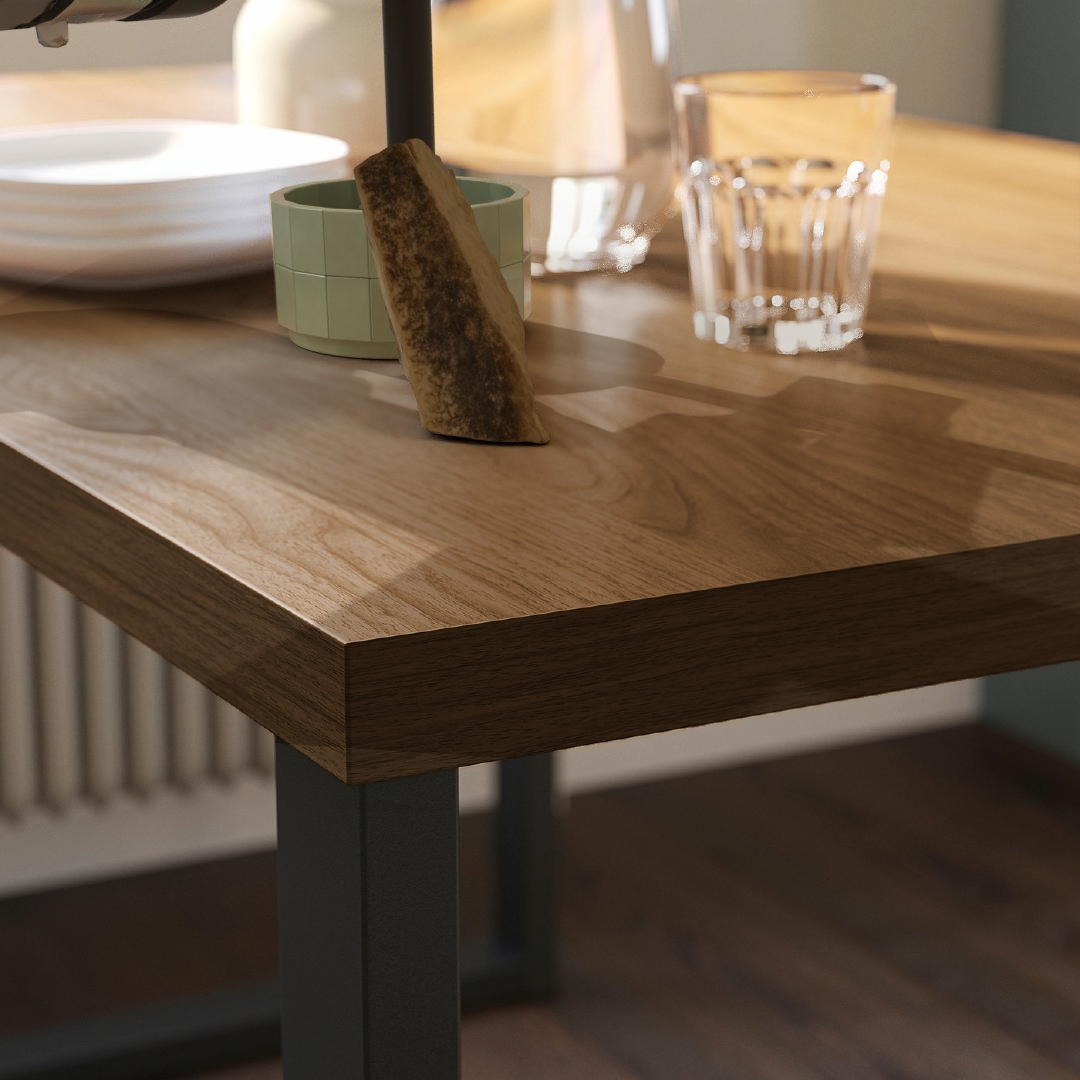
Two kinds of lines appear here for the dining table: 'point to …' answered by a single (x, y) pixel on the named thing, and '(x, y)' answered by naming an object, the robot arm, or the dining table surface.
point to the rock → (446, 300)
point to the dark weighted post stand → (408, 71)
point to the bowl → (371, 261)
